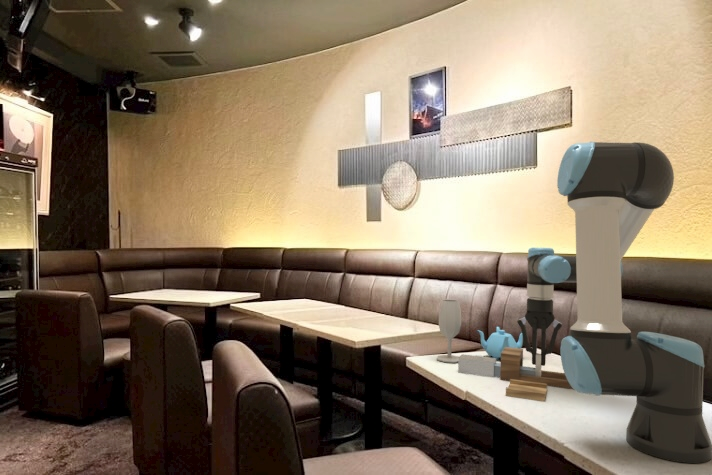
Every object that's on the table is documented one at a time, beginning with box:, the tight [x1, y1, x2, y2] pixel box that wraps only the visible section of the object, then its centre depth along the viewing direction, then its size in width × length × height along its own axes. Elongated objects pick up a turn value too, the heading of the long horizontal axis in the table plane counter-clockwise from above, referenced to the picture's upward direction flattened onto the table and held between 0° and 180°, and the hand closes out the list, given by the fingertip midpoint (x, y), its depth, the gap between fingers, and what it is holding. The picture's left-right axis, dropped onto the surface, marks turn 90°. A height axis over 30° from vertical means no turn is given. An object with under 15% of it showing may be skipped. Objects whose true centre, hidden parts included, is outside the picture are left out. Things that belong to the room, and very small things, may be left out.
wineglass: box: [436, 298, 462, 364], centre depth 172 cm, size 9×9×21 cm
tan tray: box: [505, 379, 548, 402], centre depth 137 cm, size 10×10×2 cm
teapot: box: [476, 326, 524, 361], centre depth 176 cm, size 13×13×10 cm
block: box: [457, 353, 497, 378], centre depth 157 cm, size 11×5×5 cm, turn 66°
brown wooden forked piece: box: [499, 347, 574, 390], centre depth 149 cm, size 10×24×8 cm, turn 66°
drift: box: [493, 362, 536, 379], centre depth 152 cm, size 12×4×4 cm, turn 66°
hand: (538, 375), depth 150 cm, fingers closed
